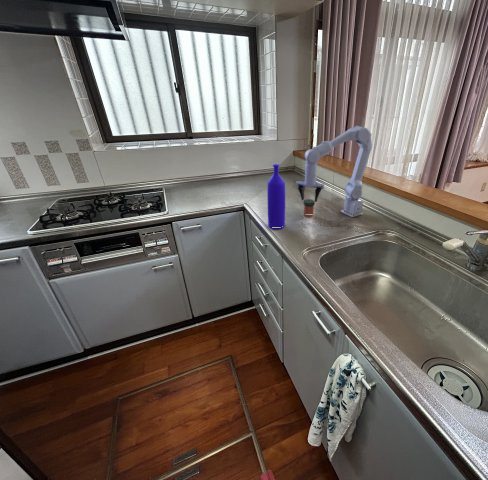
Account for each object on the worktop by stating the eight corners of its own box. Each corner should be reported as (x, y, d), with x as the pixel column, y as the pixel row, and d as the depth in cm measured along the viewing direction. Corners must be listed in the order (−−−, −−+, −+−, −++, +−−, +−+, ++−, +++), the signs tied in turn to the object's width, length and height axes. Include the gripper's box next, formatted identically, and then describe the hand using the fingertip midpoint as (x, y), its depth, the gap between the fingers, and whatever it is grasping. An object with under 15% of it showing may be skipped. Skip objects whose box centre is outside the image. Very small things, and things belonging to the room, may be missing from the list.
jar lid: (316, 205, 140) (317, 201, 139) (307, 207, 137) (308, 204, 136) (310, 201, 144) (310, 198, 143) (301, 203, 141) (301, 200, 141)
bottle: (275, 221, 136) (275, 161, 122) (288, 226, 132) (289, 164, 117) (264, 226, 131) (262, 165, 116) (277, 231, 126) (276, 168, 111)
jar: (315, 215, 143) (316, 202, 139) (307, 217, 141) (308, 204, 137) (309, 212, 147) (310, 199, 143) (301, 214, 144) (302, 201, 141)
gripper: (326, 174, 134) (324, 199, 141) (299, 171, 138) (298, 196, 145) (323, 177, 128) (321, 204, 135) (295, 174, 133) (294, 200, 139)
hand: (309, 200), depth 140 cm, fingers open, 6 cm apart
